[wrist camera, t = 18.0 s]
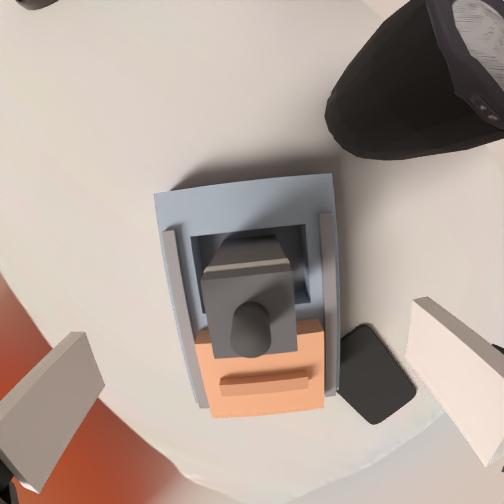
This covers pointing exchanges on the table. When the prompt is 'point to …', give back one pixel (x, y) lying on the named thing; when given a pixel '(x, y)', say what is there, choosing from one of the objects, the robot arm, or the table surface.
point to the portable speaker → (424, 83)
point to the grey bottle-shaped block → (250, 299)
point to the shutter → (265, 377)
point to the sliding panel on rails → (251, 225)
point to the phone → (371, 376)
